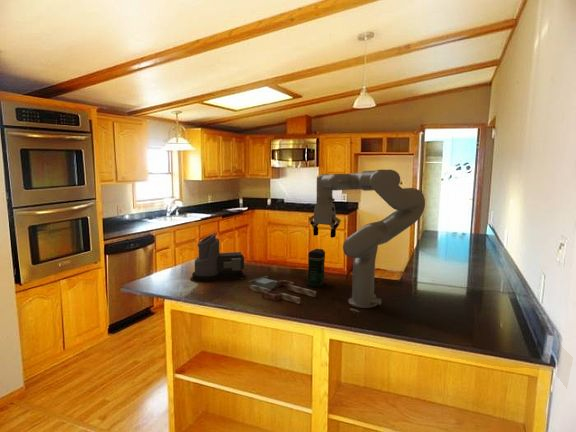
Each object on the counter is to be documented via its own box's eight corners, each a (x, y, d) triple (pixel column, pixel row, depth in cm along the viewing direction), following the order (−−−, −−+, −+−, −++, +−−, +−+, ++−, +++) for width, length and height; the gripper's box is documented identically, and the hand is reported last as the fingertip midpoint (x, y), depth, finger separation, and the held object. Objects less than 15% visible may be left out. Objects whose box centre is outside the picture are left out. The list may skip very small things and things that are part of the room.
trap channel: (321, 294, 184) (321, 286, 183) (292, 306, 168) (292, 297, 167) (271, 281, 204) (271, 274, 204) (242, 291, 188) (242, 283, 187)
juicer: (190, 283, 199) (189, 237, 196) (189, 275, 214) (188, 232, 211) (247, 279, 207) (247, 235, 204) (243, 272, 222) (242, 230, 219)
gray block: (274, 288, 193) (274, 280, 193) (264, 291, 188) (264, 283, 188) (264, 285, 198) (264, 278, 197) (254, 288, 192) (254, 281, 192)
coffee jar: (320, 288, 194) (321, 252, 191) (305, 286, 197) (306, 250, 194) (326, 283, 202) (327, 248, 200) (312, 281, 206) (312, 247, 203)
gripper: (344, 200, 180) (344, 237, 182) (313, 199, 190) (313, 233, 192) (336, 201, 174) (335, 239, 176) (305, 200, 184) (305, 235, 186)
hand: (324, 236), depth 184 cm, fingers open, 9 cm apart
